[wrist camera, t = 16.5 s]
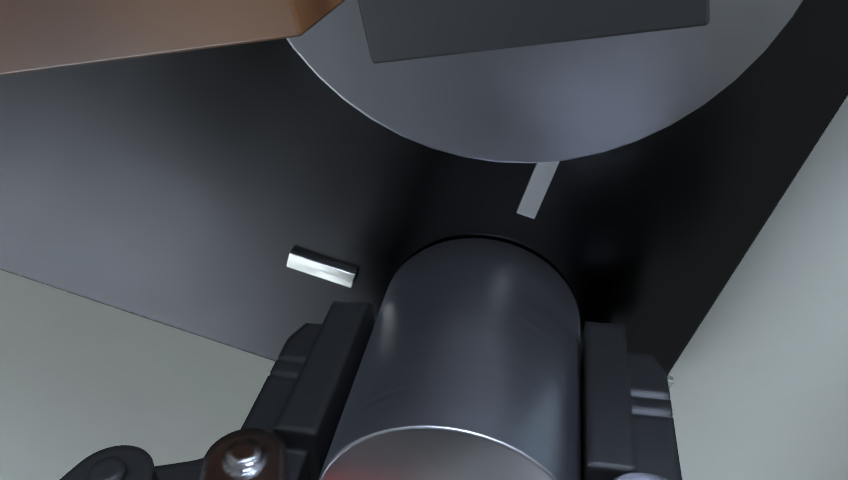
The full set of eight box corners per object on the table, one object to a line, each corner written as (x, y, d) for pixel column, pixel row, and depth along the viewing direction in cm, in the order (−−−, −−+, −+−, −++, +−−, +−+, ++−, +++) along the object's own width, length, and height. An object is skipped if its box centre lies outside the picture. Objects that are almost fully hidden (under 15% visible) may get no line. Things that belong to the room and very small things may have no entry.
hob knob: (591, 247, 14) (599, 465, 10) (568, 405, 16) (566, 644, 12) (381, 228, 15) (297, 426, 10) (386, 382, 17) (317, 603, 12)
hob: (1069, -384, 10) (1203, -426, 8) (588, 426, 20) (591, 509, 18) (-172, -814, 10) (-378, -974, 8) (-68, 206, 20) (-151, 261, 17)
